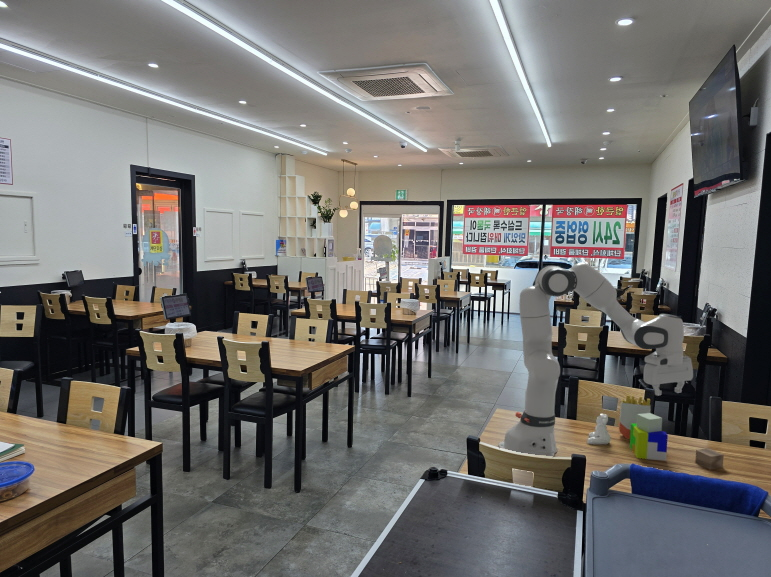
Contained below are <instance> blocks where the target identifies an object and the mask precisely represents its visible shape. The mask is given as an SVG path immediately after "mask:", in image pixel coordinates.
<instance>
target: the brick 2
mask: <svg viewBox="0 0 771 577" xmlns="http://www.w3.org/2000/svg"><path fill="white" fill-rule="evenodd" d="M724 456H725V455H724V454H723V453H721V452H718V451H716V450H713V449H711V448H701V449H696V450H695V460H694V463H695V464H697V465H699V466H701V467H703V468H705V469H708V470H709V471H711V470H717V469H723V468H724Z"/></svg>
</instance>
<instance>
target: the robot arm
mask: <svg viewBox="0 0 771 577" xmlns="http://www.w3.org/2000/svg"><path fill="white" fill-rule="evenodd" d="M572 291H574V292H575V293H577V295H579V297H581V298H582V299H583V301H584V302H586V303H587V304H589V305H590V306H592V307H593V308H594V309H597V310H599V311H601V312H603V313H604V314H605V315H606V316H607V317H608V318H609V319H610V320H612V322H614V323H615V325H616V326H617V327H618V328H619V330H620V334H621V335H622V337H623V339H624V340H625V341H626V342H627V343H629V344H631V345H634V346H636V347H638V348H640V349H642V350H654V349H655V351H654V352H652V353H650V354H649V355H646V356H645V357H644V362H645V364H644V367H643V381H644V383H646V384H647V385H651V386H652V388H653V390H654V395H655V396H657V397H658V396H661V395H662V392H663V391H662V390H660V385H661V384H662V385H663V384H671V383H672V384H673V383H677V384H676V387H674V392H675V393H677V394H679V393H682V391H683V390H682V389H683V387H684V385H685V382H686V381H692V380H693V378H694V370H693V369H694V368H693V362H692V358H691V357H690V356H688V355H684V347H683V342H684V339H685V335H684V334H685V332H684V331H685V330H684V329H685V328H684V323H683V319H682V318H681V317H679V316H677V315H674V314H673V315H672V314H670V313H669V314H668V313H659V315H658V316H657V317H654V318H653V319H650V320H647V321H644V320H643V319H640V318H636V317H634V316H632V314H630V313H629V312H628V311H627V310H626V309H625V308H624V307H623V306H622V305H621V304H620V302H619V301H618V299H617V296H618V294H617V293H618V291H617V290H616V288H615V287H614V286H613V284H612V283H611V282H610V281H609V280H608V279H607V278H606V277H605V276H604V275H603V274H602V273H601V272H599V271H598V270H597V269H596V268H595V267H592V266H591V265H590V264H587V263H586V262H579V263H578V262H577V263H576V264H574V265H572V266H571V267H570V268H569V269H566V268H562V267H561V266H558V265H545V266H543V267H542V268H540V269H539V270H538V272H537V274H536V275H535V278H534V281H533V283H532V285H531V286H528V287H525V288H523V289H522V290H521V292H520V294H519V303H518V304H519V317H520V325H521V332H522V351H523V353H522V354H523V363H524V366H525V368H526V369H527V372H528V379H527V385H526V389H525V393H524V410H523V412H522V413H521V412H519V411H517V412H515V417H516V418H517V419H519V421H518V422H517V423H515V424H514V425H512V426H511V428H509V429H508V430H507V431H506V433H505V436H504V441H503V440H502V441H501V442H500V441H499V442H498V448H499V447H501V448H505V449H508V450H512V451H516V452H521V453H528V454H535V455H546V456H554V457H555V454H556V453H557V451H558V448H557V442H556V436H555V425H556V414H555V405H556V392H557V388H558V382H559V377H560V376H561V366H560V363H559V361H558V359H557V358H556V357H555V356H554V354H553V349H552V348H553V346H552V344H553V343H552V340H553V338H552V337H553V328H552V326H553V325H552V320H551V312H550V300H551V298H552V297H557V298H558V297H562V296H565V295H566V294H568V293H570V292H572Z"/></svg>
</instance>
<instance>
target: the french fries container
mask: <svg viewBox="0 0 771 577" xmlns="http://www.w3.org/2000/svg"><path fill="white" fill-rule="evenodd" d="M638 398H639V399H638V400H637V399H635V396H634V395H632V396H631V395H630V394H626V399H625V398H622V402H620V413H619V422H618V423H619V425H618V430H619V431H618V432H619V433H620V434H622V436H623V437H624V438H626V439H627V440H628V439H629V440H630V435H631V423H634V424H637V414H645V413H651V406H652V405H651V404H650V403H651V399H650V398H646V400H645V399H643V397H642V396H639V397H638Z"/></svg>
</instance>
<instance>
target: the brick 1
mask: <svg viewBox="0 0 771 577" xmlns="http://www.w3.org/2000/svg"><path fill="white" fill-rule="evenodd" d="M662 426H663V417H661V416H658V415H656V414H653V413H651V412H650V413H645V414H637V427H638V428H640V429H642V430H644V431H647V432H657V431H662V429H663V427H662Z"/></svg>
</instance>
